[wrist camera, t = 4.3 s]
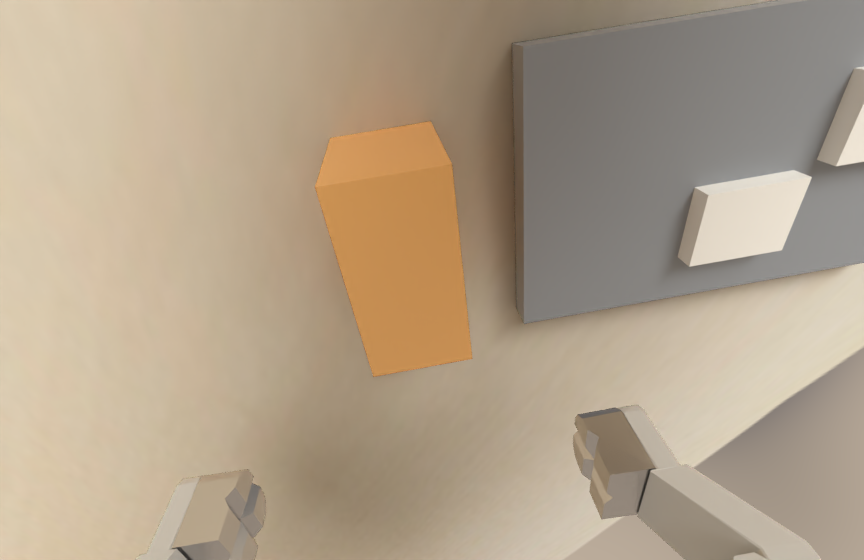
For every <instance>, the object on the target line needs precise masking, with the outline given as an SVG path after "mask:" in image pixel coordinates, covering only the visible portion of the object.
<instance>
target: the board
mask: <svg viewBox="0 0 864 560" xmlns="http://www.w3.org/2000/svg"><path fill="white" fill-rule="evenodd" d="M512 60H513V123H514V185H515V248H516V308H517V310H518V312H519V314H520V316H521V319H522V321H523V323H524V324H526V323H531V322H537V321H543V320H548V319H554V318H559V317H565V316H570V315H576V314H581V313H587V312H593V311H598V310H604V309H609V308H615V307H620V306H626V305H631V304H637V303H643V302H648V301H654V300H659V299H665V298H670V297H676V296H681V295H687V294H693V293H698V292H704V291H709V290H715V289H720V288H726V287H731V286H737V285H743V284H748V283H754V282H759V281H765V280H770V279H776V278H781V277H787V276H793V275H798V274H804V273H809V272H815V271H820V270H826V269H831V268H837V267H843V266H848V265H854V264H859V263H864V162H859V163H853V164H847V165H841V166H833V165H831V164H828V163H825V162H822V161H819V160H817V158H818V155H819V153H820V151H821V148H822V146H823V143H824V141H825V138H826V136H827V133H828V131H829V129H830V126H831V124H832V121H833V119H834V116H835V114H836V112H837V109H838V107H839V104H840V102H841V99H842V97H843V94H844V92H845V90H846V87H847V85H848V82H849V80H850V77H851V75H852V72H853V70H854V68H858V67H864V0H776V1H770V2H764V3H758V4H752V5H745V6H739V7H733V8H727V9H721V10H715V11H708V12H702V13H696V14H690V15H684V16H678V17H671V18H665V19H659V20H653V21H647V22H641V23H634V24H628V25H622V26H616V27H610V28H604V29H597V30H591V31H585V32H579V33H573V34H567V35H561V36H554V37H548V38H542V39H536V40H530V41H524V42H517V43H512ZM791 170H795V171H798V172H800V173H803V174H805V175H808V176H810V177H812V179H811V181H810V184H809V186H808V188H807V191H806V193H805V196H804V198H803V200H802V203H801V205H800V208H799V210H798V213H797V215H796V217H795V220H794V222H793V225H792V227H791V229H790V232H789V234H788V237H787V239H786V242H785V244H784V246H783V249H782V250H781V251H775V252H770V253H764V254H758V255H753V256H747V257H742V258H736V259H730V260H725V261H719V262H713V263H708V264H702V265H697V266H691V267H689V266H688V265H686V264H685V263H684V262H683V261H682V260H680V259H679V258H678V253H679V249H680V245H681V241H682V237H683V233H684V229H685V225H686V221H687V217H688V213H689V209H690V204H691V200H692V196H693V192H694V188H695V187H699V186H705V185H711V184H716V183H722V182H728V181H734V180H740V179H745V178H751V177H757V176H763V175H768V174H774V173H780V172H786V171H791Z"/></svg>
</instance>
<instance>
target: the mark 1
mask: <svg viewBox="0 0 864 560" xmlns="http://www.w3.org/2000/svg"><path fill="white" fill-rule="evenodd" d="M811 179H812V177H810V176H808V175H805V174H803V173H800V172H798V171H795V170H791V171H786V172H780V173H774V174H768V175H763V176H757V177H751V178H745V179H740V180H734V181H728V182H722V183H716V184H711V185H705V186H699V187H695V188H694V192H693V196H692V200H691V204H690V209H689V213H688V217H687V221H686V225H685V229H684V233H683V237H682V241H681V245H680V249H679V253H678V258H679V259H680V260H682V261H683V262H684V263H685V264H686V265H688V266H689V267H691V266H697V265H702V264H708V263H713V262H719V261H725V260H730V259H736V258H742V257H747V256H753V255H758V254H764V253H770V252H775V251H781V250H782V249H783V246H784V244H785V242H786V239H787V237H788V234H789V232H790V229H791V227H792V225H793V222H794V220H795V217H796V215H797V213H798V210H799V208H800V205H801V203H802V200H803V198H804V196H805V193H806V191H807V188H808V186H809V184H810V181H811Z"/></svg>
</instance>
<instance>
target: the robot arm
mask: <svg viewBox="0 0 864 560" xmlns="http://www.w3.org/2000/svg"><path fill="white" fill-rule="evenodd" d="M575 426H576V428H577V430H578V431H577V432H576V433H575V434H574V435H573V447H574V453H575V457H576V460H577V463H578V466H579V468H580V471H581V473H582V474H583V475H584V476H585V477H587V478H588V479H589V480H591V484H590V491H589V492H590V494H591V496H592V499H593V501H594V503H595V505H596V508H597V510H598V512H599V515H600V517H601V519H607V518H614V517H621V516H629V515H636V514H638V517H639V518H640V519H641V520H642V521H643V522H644V523H645V524H646V525H647V526H649V527H650V528H651V529H652V530H653V531H654V532H655V533H656V534H657V535H658V536H660V537H661V538H662V539H663V540H664V541H665V542H666V543H667V544H668V545H669V546H671V547H672V548H673V549H674V550H675V551H676V552H677V553H678V554H679V555H680V556H682V557H683V558H684V559H685V560H822V559H821V558H820V557H819V556H818V554H817V553H816V552H815V551H814V549H813V548H812V547H811V546H810V544H809V543H808V542H807V541H805V540H804V539H802V538H801V537H799V536H798V535H796V534H795V533H793V532H791V531H790V530H788V529H787V528H785V527H784V526H782V525H781V524H779V523H777V522H776V521H774V520H772V519H771V518H769V517H768V516H767V515H765V514H763V513H762V512H760V511H759V510H757V509H756V508H754V507H752V506H751V505H749V504H748V503H746V502H745V501H743V500H742V499H740V498H739V497H737V496H735V495H734V494H732V493H731V492H729V491H728V490H726V489H725V488H723V487H722V486H720V485H718V484H717V483H715V482H714V481H712V480H711V479H709V478H708V477H706V476H704V475H703V474H701V473H700V472H698V471H697V470H695V469H694V468H692V467H690V466H689V465H687V464H684V465H680V464H679V462H678V461H677V459H676V458H675V456H674V455H673V453H672V452H671V450H670V448H669V447H668V445H667V444H666V442H665V441H664V439H663V438H662V436H661V435H660V433H659V432H658V430H657V429H656V427H655V426H654V424H653V423H652V421H651V420H650V418H649V417H648V415H647V414H646V412H645V411H644V409H643V408H642V407H640V406H639V405H631V406H626V407H621V408H611V409H605V410H600V411H594V412H589V413H583V414H578V415H577V416H576V417H575ZM253 477H254V476H253V475H252V474H251V472H250V471H249V470H248V469H245V470H239V471H232V472H225V473H219V474H212V475H204V476H198V477H192V478H186V479H182V481H181V482H180V483H179V484H178V485H177V486H176V488H175V491H174V493H173V495H172V497H171V499H170V502H169V504H168V506H167V508H166V511H165V513H164V515H163V517H162V520H161V522H160V524H159V526H158V528H157V531H156V533H155V535H154V537H153V540H152V542H151V544H150V546H149V549H148V551H147V553H146V554H141V555H139V556H138V557H137V558H136V559H135V560H255V557H256V553H257V549H258V545H257V543H256V541H255V539H254V537H255V536H256V534H257V533H258V532H259V531H260V529H261V528H262V527H263V523H264V519H265V514H266V500H265V496H264V492H263V491H262V489H261V487H260V486H257V485H255V484H253V483H252V481H253Z"/></svg>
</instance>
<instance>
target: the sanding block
mask: <svg viewBox="0 0 864 560" xmlns="http://www.w3.org/2000/svg"><path fill="white" fill-rule="evenodd" d="M315 189H316V192H317V195H318V199H319V202H320V205H321V208H322V212H323V215H324V218H325V221H326V225H327V228H328V231H329V234H330V238H331V241H332V244H333V247H334V251H335V254H336V257H337V260H338V264H339V267H340V270H341V273H342V277H343V280H344V283H345V286H346V290H347V293H348V296H349V299H350V302H351V306H352V309H353V312H354V315H355V319H356V322H357V325H358V328H359V332H360V335H361V338H362V341H363V345H364V348H365V351H366V354H367V358H368V361H369V364H370V367H371V371H372V374H373V377H375V376H381V375H386V374H392V373H397V372H403V371H408V370H414V369H419V368H425V367H430V366H436V365H441V364H447V363H452V362H457V361H463V360H468V359H472V352H471V342H470V332H469V323H468V313H467V303H466V294H465V284H464V275H463V265H462V255H461V246H460V236H459V227H458V217H457V207H456V198H455V188H454V178H453V169H452V163H451V161H450V159H449V157H448V155H447V153H446V151H445V149H444V147H443V145H442V143H441V141H440V139H439V137H438V135H437V133H436V131H435V129H434V127H433V125H432V123H431V121H429V122H423V123H417V124H411V125H405V126H399V127H393V128H387V129H381V130H375V131H369V132H363V133H357V134H351V135H345V136H339V137H333V138H330V140H329V144H328V147H327V150H326V153H325V157H324V160H323V163H322V166H321V170H320V173H319V176H318V179H317V183H316V186H315Z"/></svg>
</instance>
